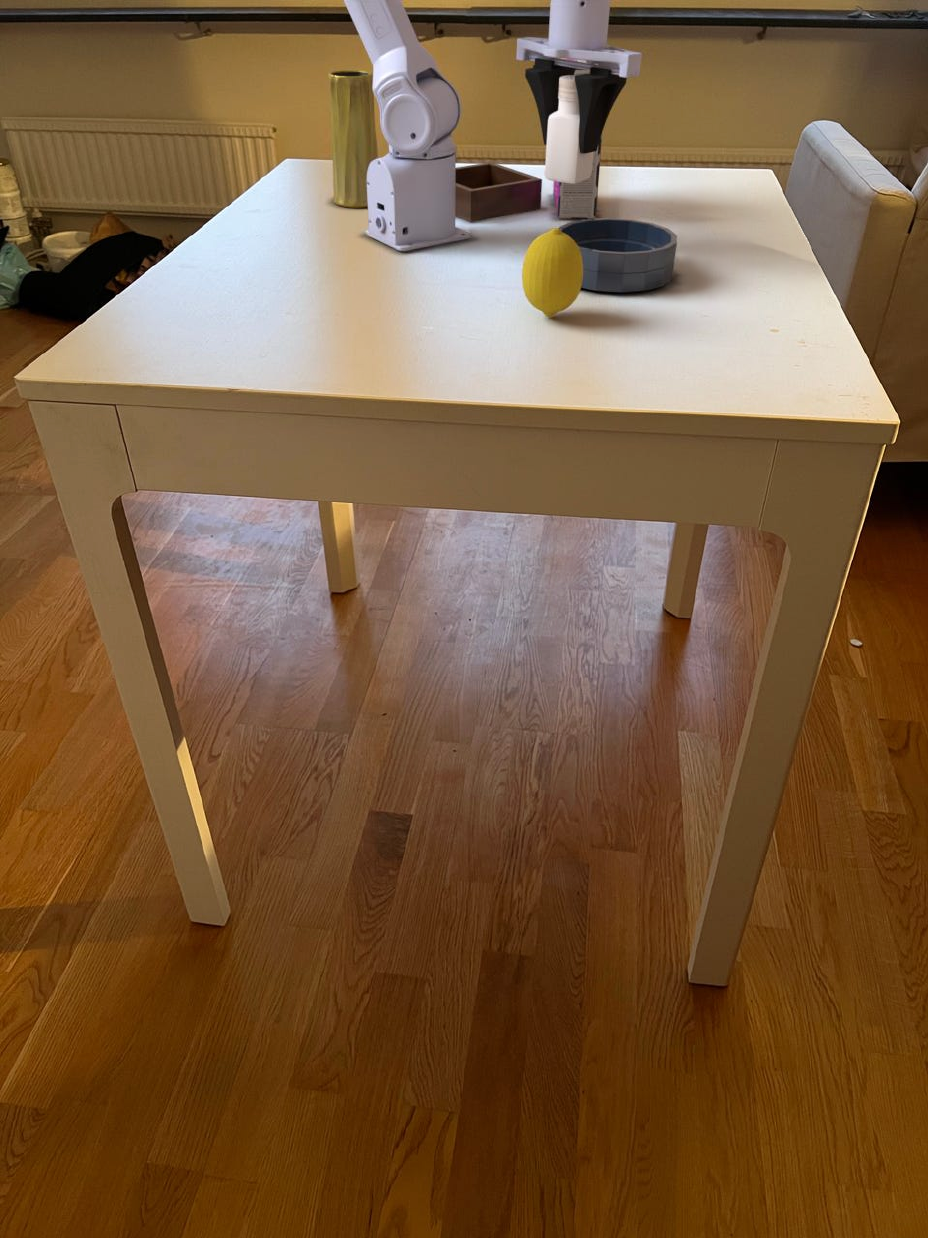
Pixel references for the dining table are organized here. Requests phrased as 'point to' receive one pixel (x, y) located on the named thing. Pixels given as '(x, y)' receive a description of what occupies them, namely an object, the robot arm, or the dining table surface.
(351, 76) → the vase
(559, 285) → the lemon
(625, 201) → the dining table surface
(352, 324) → the dining table surface
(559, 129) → the white bottle
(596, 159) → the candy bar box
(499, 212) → the box
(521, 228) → the dining table surface
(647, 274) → the bowl
